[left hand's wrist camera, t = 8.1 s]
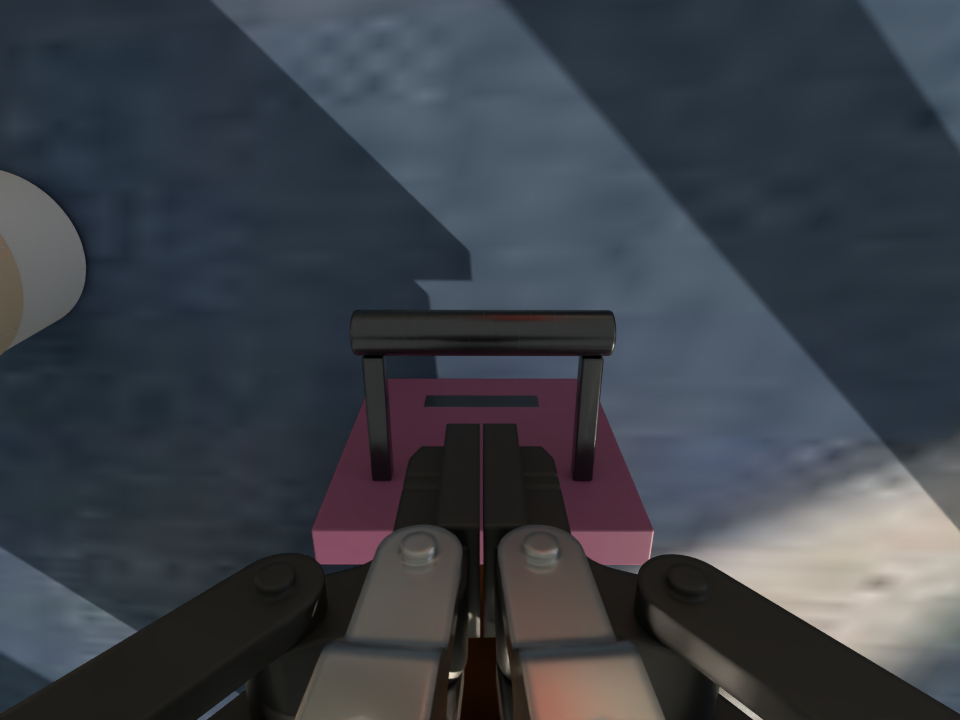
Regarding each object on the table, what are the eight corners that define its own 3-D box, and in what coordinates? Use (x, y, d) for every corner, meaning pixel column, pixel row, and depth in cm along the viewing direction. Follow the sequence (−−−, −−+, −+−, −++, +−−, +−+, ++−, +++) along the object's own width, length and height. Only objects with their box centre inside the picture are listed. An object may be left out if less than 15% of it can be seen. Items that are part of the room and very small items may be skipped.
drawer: (362, 252, 22) (284, 344, 13) (601, 253, 22) (682, 345, 13) (397, 705, 32) (366, 931, 23) (562, 705, 32) (594, 931, 23)
